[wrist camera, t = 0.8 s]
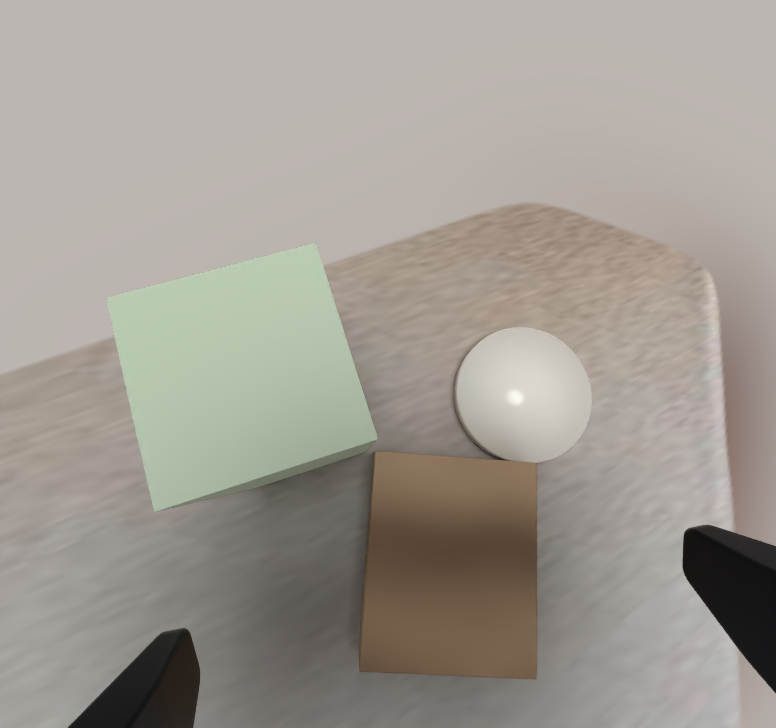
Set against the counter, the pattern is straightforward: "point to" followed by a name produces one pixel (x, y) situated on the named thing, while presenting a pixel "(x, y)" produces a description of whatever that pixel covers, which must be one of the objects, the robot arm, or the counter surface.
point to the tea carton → (239, 377)
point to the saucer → (523, 395)
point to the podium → (450, 567)
